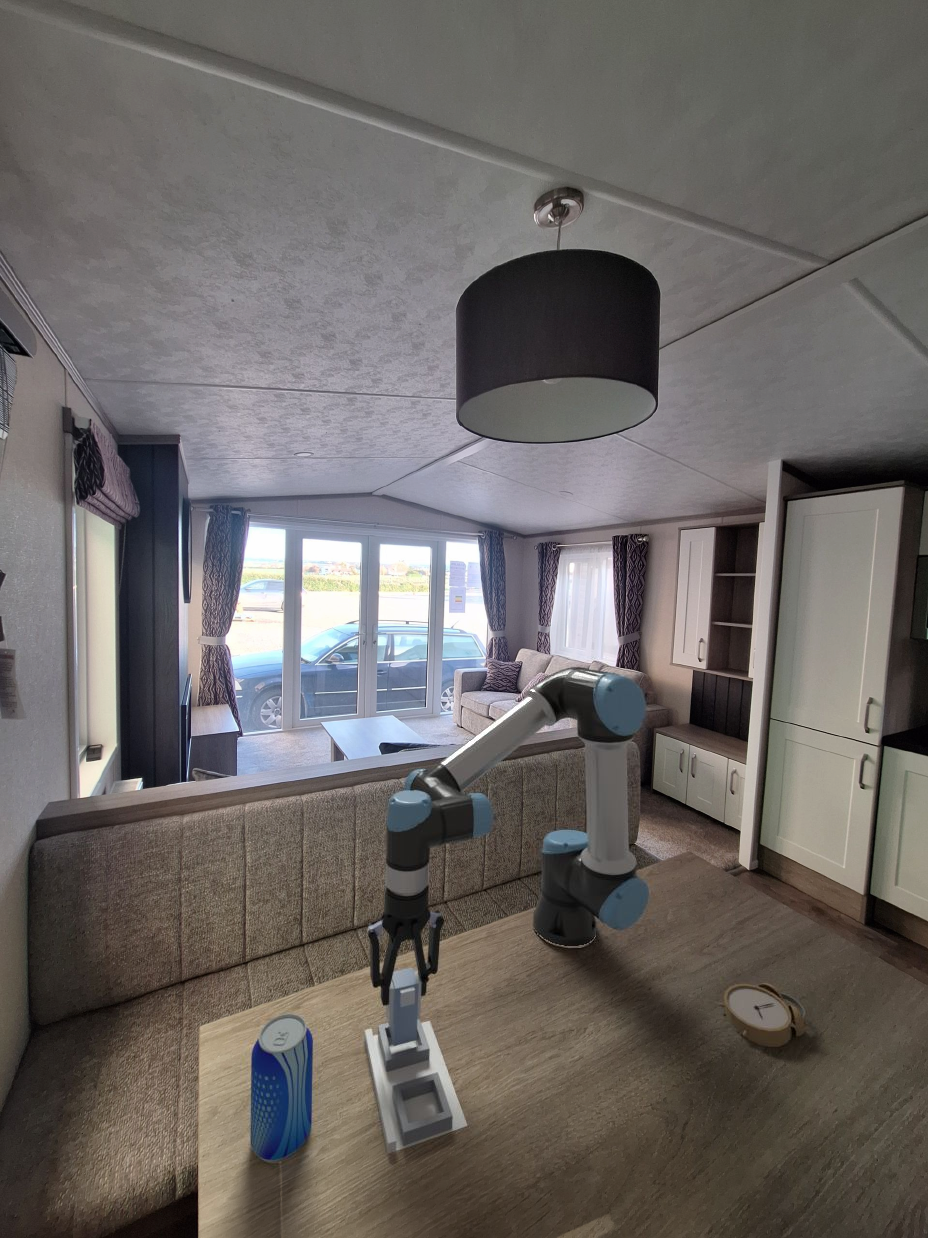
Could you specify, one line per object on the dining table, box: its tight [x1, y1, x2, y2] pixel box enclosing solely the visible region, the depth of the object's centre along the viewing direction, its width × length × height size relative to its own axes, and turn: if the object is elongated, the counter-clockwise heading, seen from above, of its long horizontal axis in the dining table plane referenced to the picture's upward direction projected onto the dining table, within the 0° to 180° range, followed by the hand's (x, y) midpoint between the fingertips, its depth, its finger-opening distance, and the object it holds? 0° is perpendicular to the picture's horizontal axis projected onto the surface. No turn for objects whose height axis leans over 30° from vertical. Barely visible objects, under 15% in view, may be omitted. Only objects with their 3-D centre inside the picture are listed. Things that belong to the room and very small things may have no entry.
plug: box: [389, 967, 418, 1046], centre depth 89 cm, size 4×5×10 cm
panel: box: [364, 1018, 468, 1155], centre depth 84 cm, size 12×20×3 cm, turn 20°
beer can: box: [249, 1013, 314, 1164], centre depth 75 cm, size 8×8×16 cm
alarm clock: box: [717, 982, 809, 1048], centre depth 98 cm, size 11×5×15 cm
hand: (403, 1016), depth 89 cm, fingers closed on plug, 4 cm apart
